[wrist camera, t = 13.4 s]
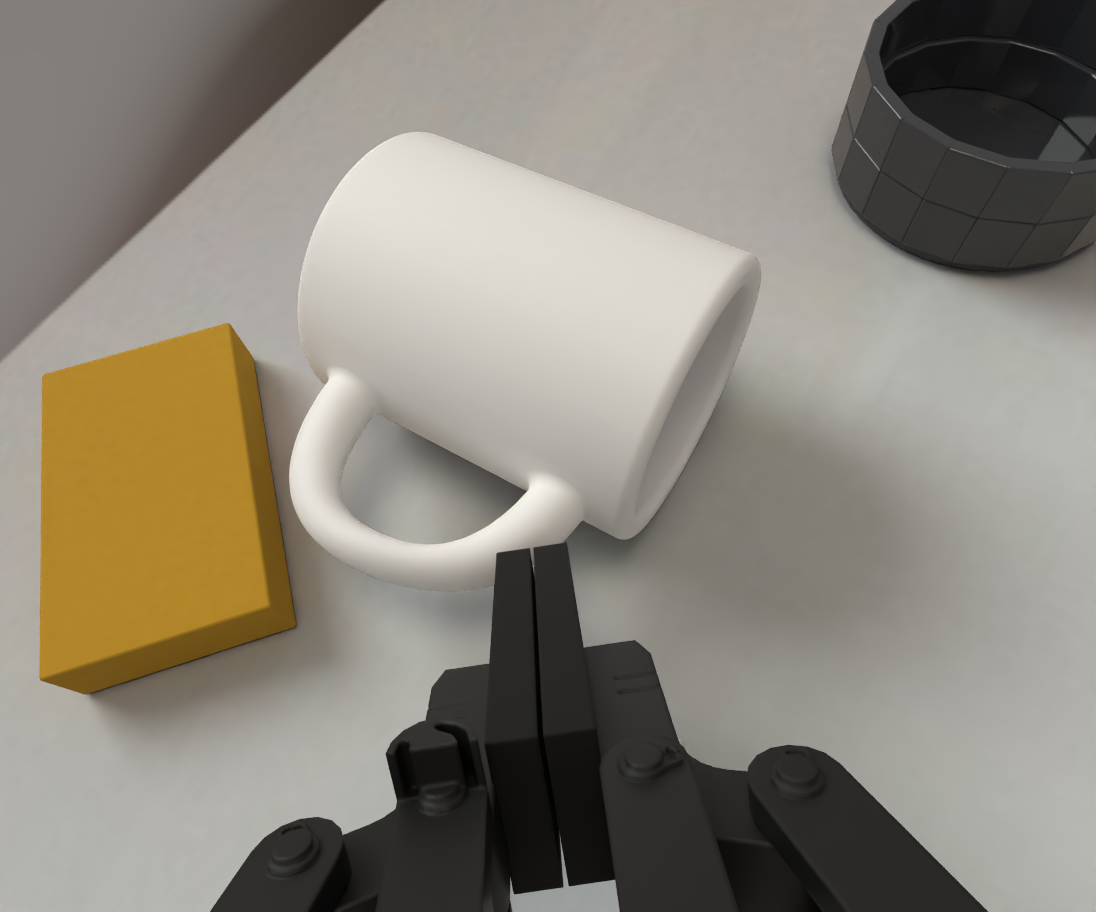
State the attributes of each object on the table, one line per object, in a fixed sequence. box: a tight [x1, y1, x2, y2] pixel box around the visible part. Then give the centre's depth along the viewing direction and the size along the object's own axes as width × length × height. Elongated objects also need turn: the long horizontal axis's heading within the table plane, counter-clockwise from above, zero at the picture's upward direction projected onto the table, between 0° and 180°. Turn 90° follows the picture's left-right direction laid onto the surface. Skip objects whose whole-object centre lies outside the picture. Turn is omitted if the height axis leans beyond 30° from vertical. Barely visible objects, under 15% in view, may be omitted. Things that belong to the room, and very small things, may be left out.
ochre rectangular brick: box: [40, 323, 296, 694], centre depth 22 cm, size 6×10×2 cm, turn 18°
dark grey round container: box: [832, 0, 1096, 271], centre depth 26 cm, size 10×10×4 cm
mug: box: [289, 132, 761, 592], centre depth 20 cm, size 12×10×8 cm
